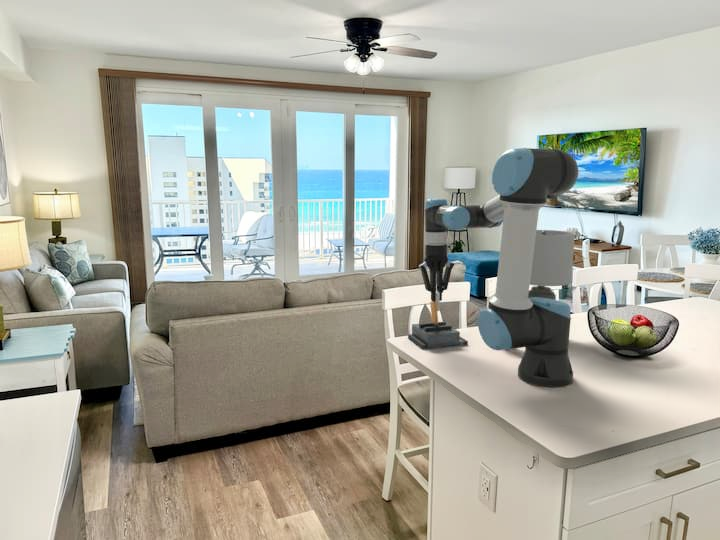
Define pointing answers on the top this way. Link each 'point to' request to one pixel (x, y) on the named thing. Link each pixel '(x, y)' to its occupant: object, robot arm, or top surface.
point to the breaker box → (436, 335)
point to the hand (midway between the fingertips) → (436, 310)
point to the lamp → (551, 262)
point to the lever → (434, 313)
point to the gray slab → (463, 342)
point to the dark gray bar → (417, 341)
